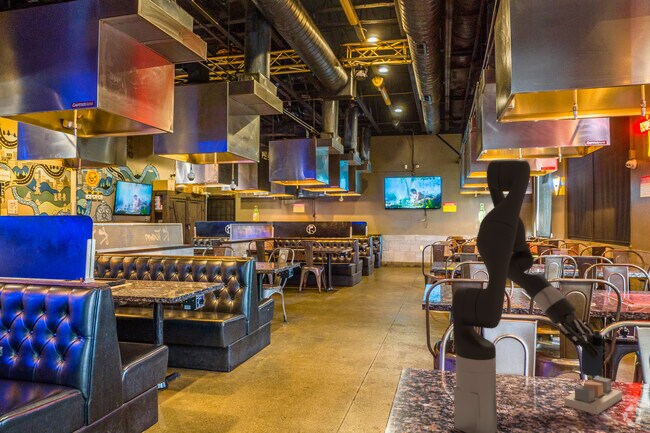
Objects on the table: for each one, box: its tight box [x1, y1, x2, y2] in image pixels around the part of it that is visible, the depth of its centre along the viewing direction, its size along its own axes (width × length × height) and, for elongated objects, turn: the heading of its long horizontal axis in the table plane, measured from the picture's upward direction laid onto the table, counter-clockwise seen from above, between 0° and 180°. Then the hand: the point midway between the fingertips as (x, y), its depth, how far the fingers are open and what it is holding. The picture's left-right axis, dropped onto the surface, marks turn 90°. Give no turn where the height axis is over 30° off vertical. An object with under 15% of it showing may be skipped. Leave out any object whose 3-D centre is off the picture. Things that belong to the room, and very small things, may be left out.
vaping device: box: [580, 330, 604, 377], centre depth 122 cm, size 3×5×12 cm, turn 78°
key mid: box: [583, 380, 603, 397], centre depth 122 cm, size 4×4×3 cm
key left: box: [574, 384, 595, 402], centre depth 118 cm, size 4×4×3 cm
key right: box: [592, 376, 612, 392], centre depth 126 cm, size 4×4×3 cm
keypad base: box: [563, 388, 623, 415], centre depth 122 cm, size 18×8×2 cm, turn 129°
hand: (600, 354), depth 121 cm, fingers closed on vaping device, 4 cm apart
